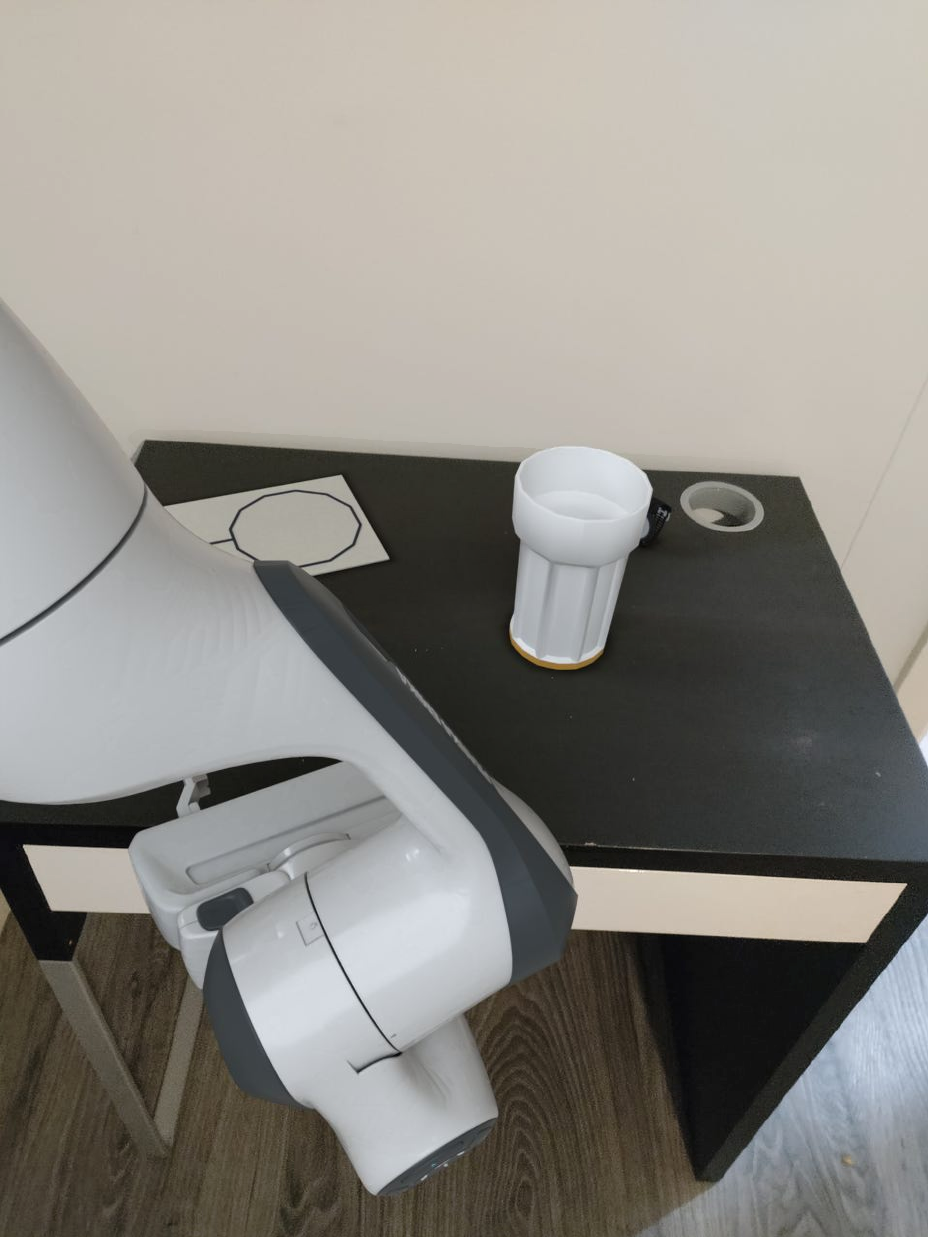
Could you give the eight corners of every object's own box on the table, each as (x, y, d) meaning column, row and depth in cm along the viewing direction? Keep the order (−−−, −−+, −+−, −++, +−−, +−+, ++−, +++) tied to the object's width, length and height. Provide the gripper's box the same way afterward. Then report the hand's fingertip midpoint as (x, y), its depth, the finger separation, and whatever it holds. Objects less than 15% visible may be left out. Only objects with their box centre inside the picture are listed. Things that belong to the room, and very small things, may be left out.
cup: (615, 603, 92) (649, 451, 80) (619, 685, 83) (658, 529, 72) (500, 591, 92) (518, 438, 80) (493, 672, 83) (511, 514, 72)
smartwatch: (616, 534, 100) (624, 496, 97) (658, 526, 102) (667, 488, 98) (634, 557, 97) (643, 518, 94) (677, 549, 99) (687, 510, 95)
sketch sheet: (190, 602, 88) (189, 599, 88) (160, 508, 99) (160, 506, 98) (389, 559, 95) (389, 557, 94) (341, 476, 105) (341, 473, 105)
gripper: (481, 818, 59) (393, 675, 68) (153, 947, 51) (102, 766, 60) (475, 874, 63) (392, 732, 72) (171, 1001, 55) (121, 824, 64)
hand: (258, 748), depth 66 cm, fingers open, 8 cm apart
